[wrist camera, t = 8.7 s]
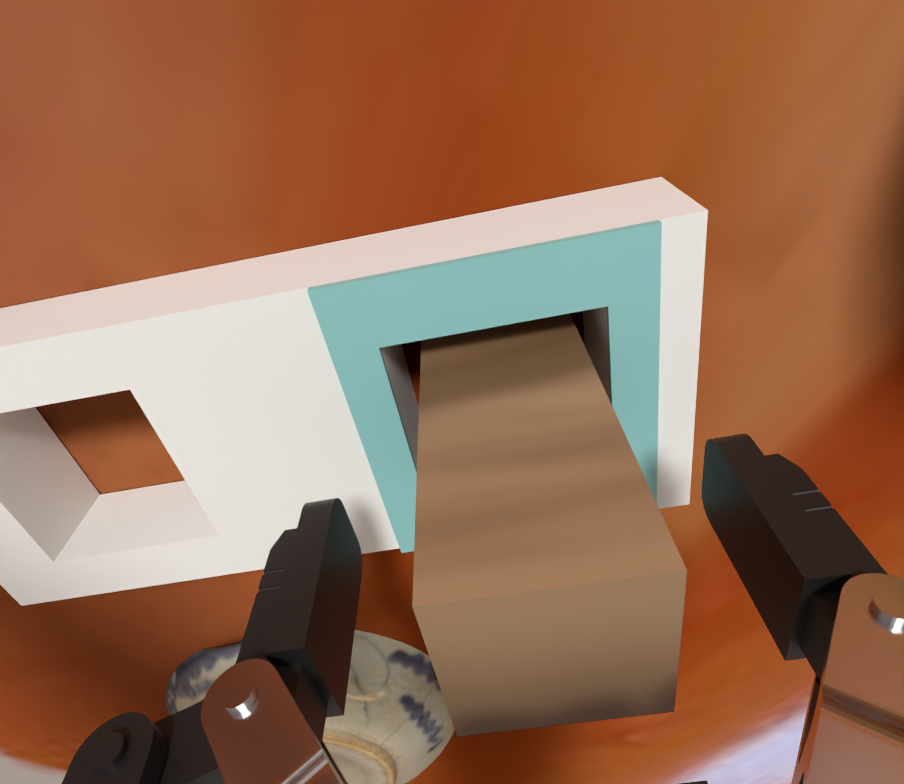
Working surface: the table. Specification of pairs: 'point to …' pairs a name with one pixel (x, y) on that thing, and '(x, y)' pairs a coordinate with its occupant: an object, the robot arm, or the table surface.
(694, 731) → the table surface
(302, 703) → the robot arm
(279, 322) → the socket rail
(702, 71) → the table surface
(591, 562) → the walnut peg
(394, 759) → the decorative bowl
